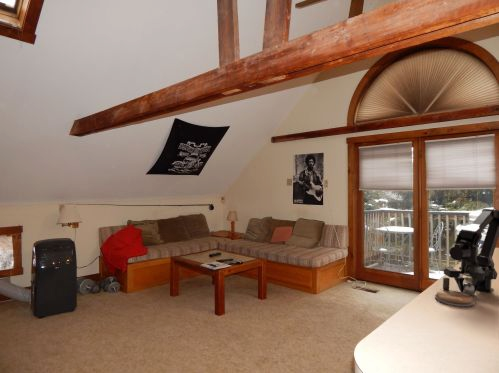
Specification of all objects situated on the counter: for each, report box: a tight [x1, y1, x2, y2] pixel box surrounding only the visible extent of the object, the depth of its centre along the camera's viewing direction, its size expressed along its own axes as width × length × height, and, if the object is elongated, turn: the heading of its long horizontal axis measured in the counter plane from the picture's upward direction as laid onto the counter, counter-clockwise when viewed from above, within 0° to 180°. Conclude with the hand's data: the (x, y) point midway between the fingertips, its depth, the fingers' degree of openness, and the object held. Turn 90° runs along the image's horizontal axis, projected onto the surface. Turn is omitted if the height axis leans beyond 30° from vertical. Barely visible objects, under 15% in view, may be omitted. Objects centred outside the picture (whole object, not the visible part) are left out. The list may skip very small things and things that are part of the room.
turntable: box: [436, 277, 474, 304], centre depth 144 cm, size 15×13×6 cm
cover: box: [462, 281, 475, 298], centre depth 151 cm, size 5×5×5 cm
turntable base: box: [434, 293, 475, 309], centre depth 143 cm, size 14×14×1 cm
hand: (467, 292), depth 151 cm, fingers closed on cover, 5 cm apart
